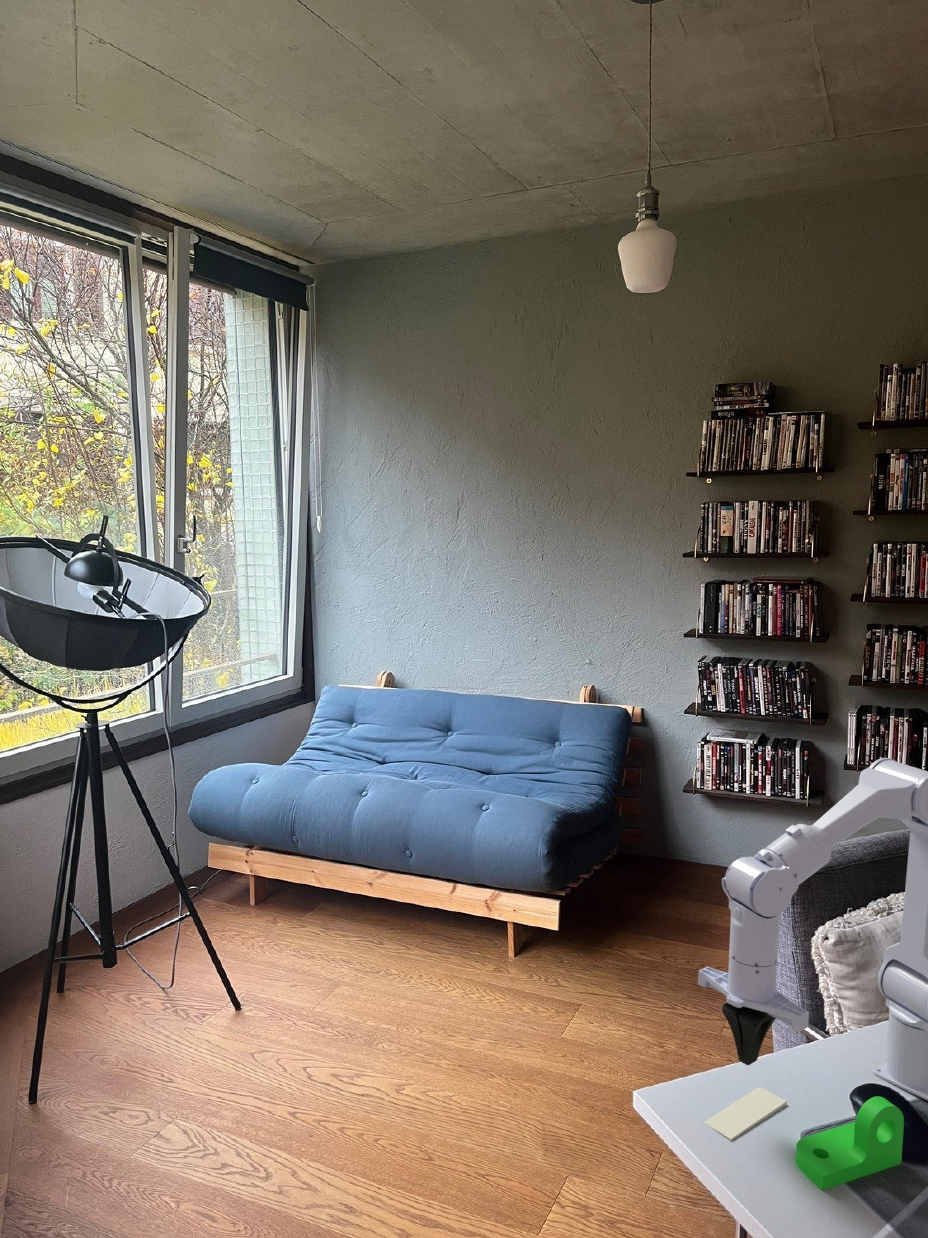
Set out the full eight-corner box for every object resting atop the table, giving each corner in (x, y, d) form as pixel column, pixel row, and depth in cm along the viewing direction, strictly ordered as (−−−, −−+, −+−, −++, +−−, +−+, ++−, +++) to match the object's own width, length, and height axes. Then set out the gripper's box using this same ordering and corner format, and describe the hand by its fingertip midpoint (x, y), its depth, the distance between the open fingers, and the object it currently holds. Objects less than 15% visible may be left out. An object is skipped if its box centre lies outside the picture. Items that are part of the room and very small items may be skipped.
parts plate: (759, 1092, 124) (759, 1086, 123) (786, 1107, 120) (786, 1101, 120) (703, 1128, 116) (703, 1122, 116) (730, 1145, 113) (730, 1139, 113)
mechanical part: (861, 1134, 116) (865, 1073, 115) (901, 1165, 110) (905, 1101, 109) (784, 1159, 111) (787, 1095, 110) (821, 1192, 106) (825, 1125, 105)
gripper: (685, 944, 119) (680, 1046, 120) (787, 989, 108) (781, 1100, 109) (718, 929, 124) (714, 1028, 125) (820, 971, 112) (814, 1078, 114)
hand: (747, 1060), depth 117 cm, fingers closed
